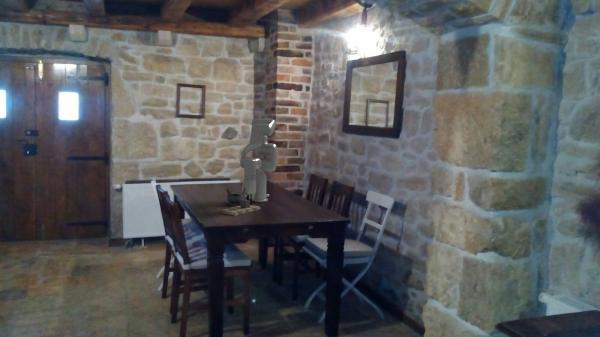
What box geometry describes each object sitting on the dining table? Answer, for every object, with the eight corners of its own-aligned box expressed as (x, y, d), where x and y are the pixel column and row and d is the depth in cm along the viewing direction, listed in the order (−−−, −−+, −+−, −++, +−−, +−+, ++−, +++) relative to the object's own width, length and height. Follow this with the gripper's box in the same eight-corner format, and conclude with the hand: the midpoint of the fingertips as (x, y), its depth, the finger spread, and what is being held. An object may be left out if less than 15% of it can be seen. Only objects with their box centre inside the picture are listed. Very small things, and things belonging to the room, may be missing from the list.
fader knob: (243, 205, 323) (244, 199, 323) (249, 206, 321) (249, 200, 320) (240, 206, 320) (240, 200, 319) (246, 207, 317) (246, 201, 317)
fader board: (246, 207, 331) (246, 204, 331) (260, 209, 325) (260, 206, 325) (220, 213, 310) (220, 209, 309) (235, 215, 303) (235, 212, 303)
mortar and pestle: (238, 203, 344) (238, 186, 343) (243, 205, 336) (243, 188, 335) (223, 204, 339) (223, 187, 338) (227, 206, 331) (228, 189, 329)
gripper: (252, 175, 330) (251, 202, 332) (238, 177, 317) (237, 205, 320) (261, 176, 326) (260, 203, 328) (247, 179, 313) (246, 206, 316)
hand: (249, 204), depth 324 cm, fingers closed
